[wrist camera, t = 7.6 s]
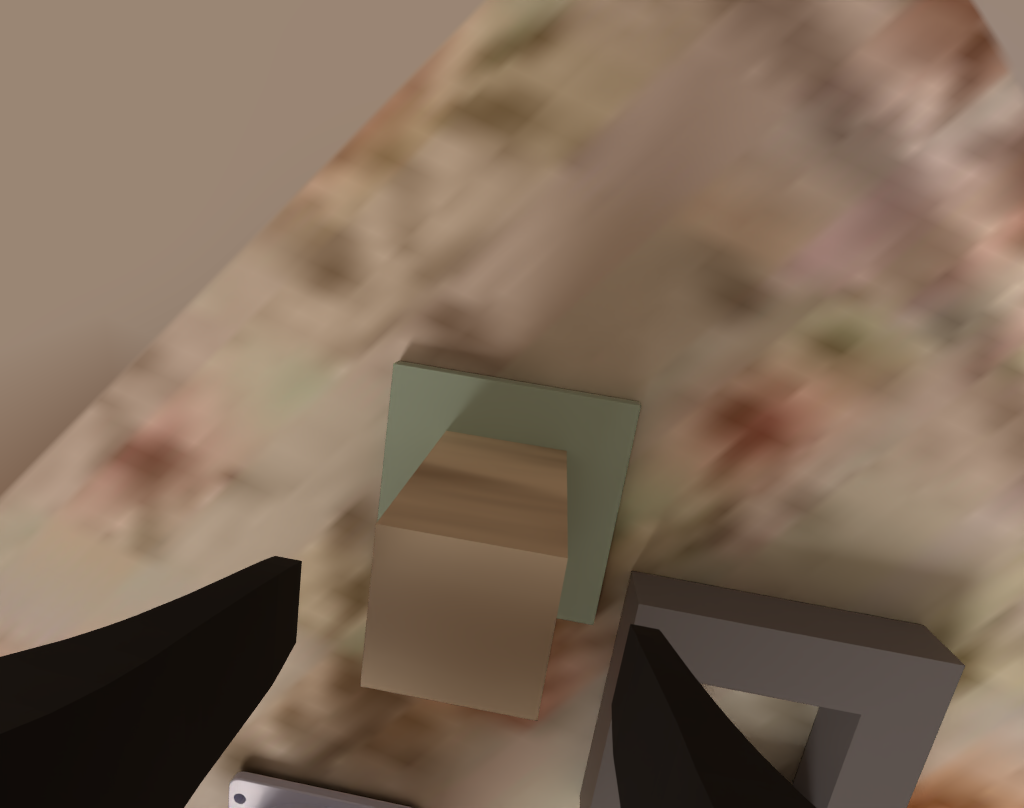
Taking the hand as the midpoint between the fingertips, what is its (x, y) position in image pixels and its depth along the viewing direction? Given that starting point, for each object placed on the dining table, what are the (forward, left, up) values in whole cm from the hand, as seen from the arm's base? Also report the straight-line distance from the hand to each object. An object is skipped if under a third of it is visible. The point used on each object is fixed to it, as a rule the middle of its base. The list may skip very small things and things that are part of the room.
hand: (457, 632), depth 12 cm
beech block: (0, 0, -7) cm, 7 cm away
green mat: (0, 0, -8) cm, 8 cm away
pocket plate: (-7, -10, -8) cm, 14 cm away
